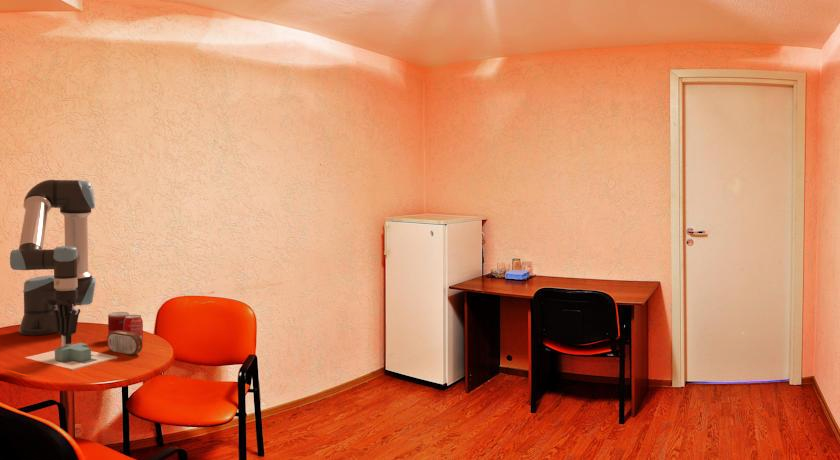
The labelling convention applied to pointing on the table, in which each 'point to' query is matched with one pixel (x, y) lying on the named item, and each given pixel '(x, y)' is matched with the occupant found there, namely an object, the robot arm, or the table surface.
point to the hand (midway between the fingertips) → (66, 352)
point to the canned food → (116, 321)
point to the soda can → (134, 325)
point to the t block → (73, 352)
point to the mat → (71, 364)
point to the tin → (124, 342)
